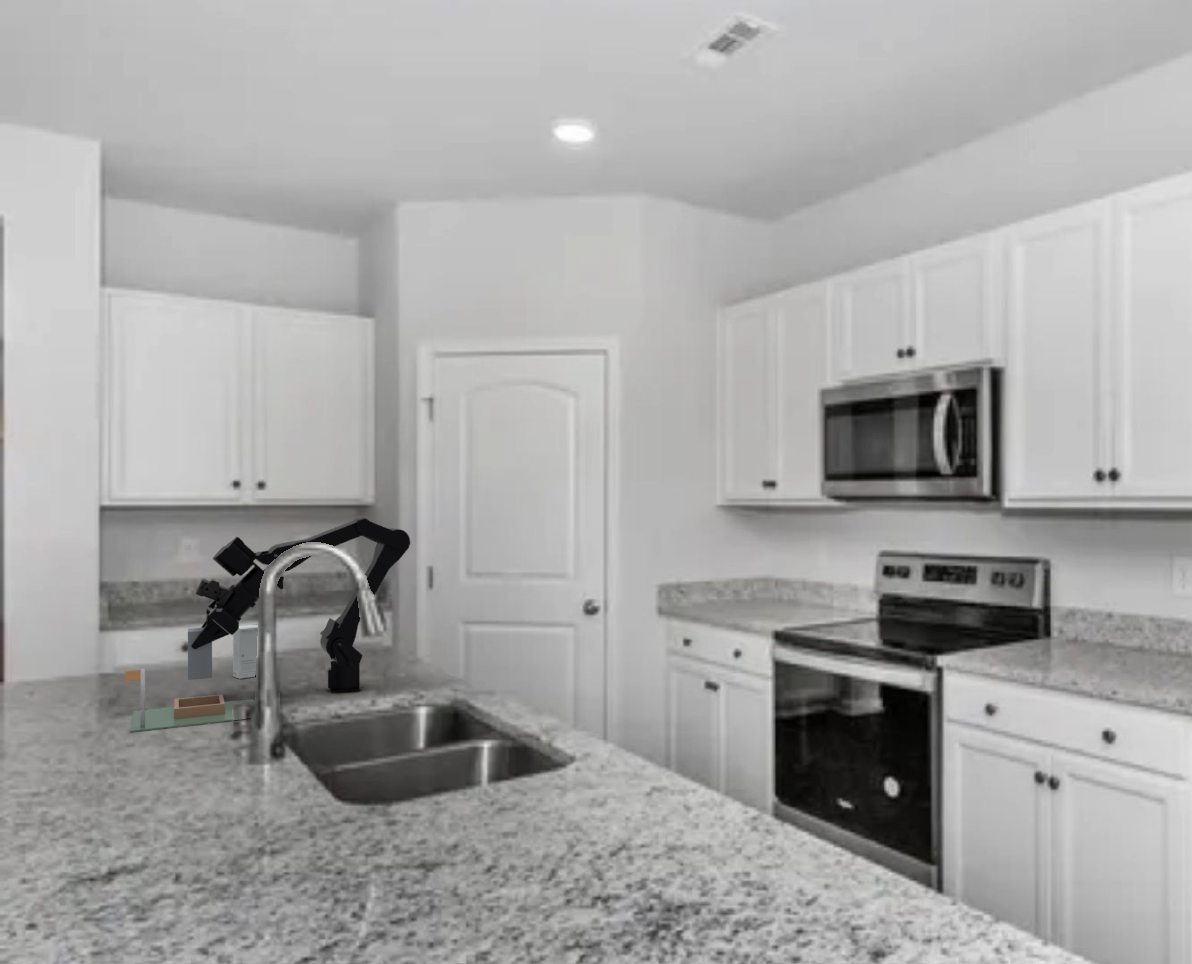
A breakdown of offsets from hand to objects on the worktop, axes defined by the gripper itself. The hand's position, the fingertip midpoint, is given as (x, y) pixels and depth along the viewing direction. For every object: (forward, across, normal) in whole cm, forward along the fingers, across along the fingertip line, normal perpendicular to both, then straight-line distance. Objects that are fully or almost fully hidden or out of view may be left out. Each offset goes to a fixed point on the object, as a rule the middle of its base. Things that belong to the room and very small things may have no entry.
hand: (192, 645), depth 185 cm
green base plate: (+8, +9, +9) cm, 15 cm away
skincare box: (0, -26, +18) cm, 31 cm away
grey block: (+4, 0, +6) cm, 7 cm away
